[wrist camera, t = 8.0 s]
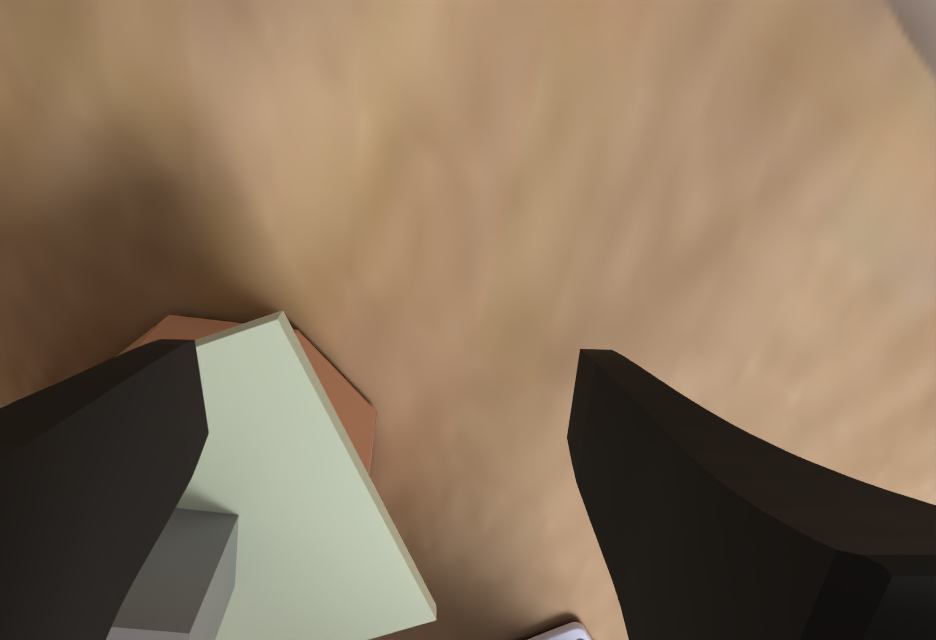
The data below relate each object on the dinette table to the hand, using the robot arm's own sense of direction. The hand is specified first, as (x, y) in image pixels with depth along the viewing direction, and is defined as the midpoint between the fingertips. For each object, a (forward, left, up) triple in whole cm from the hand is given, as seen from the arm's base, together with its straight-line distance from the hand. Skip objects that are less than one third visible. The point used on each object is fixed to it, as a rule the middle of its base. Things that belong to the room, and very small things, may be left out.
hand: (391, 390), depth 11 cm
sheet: (-4, +10, -5) cm, 12 cm away
